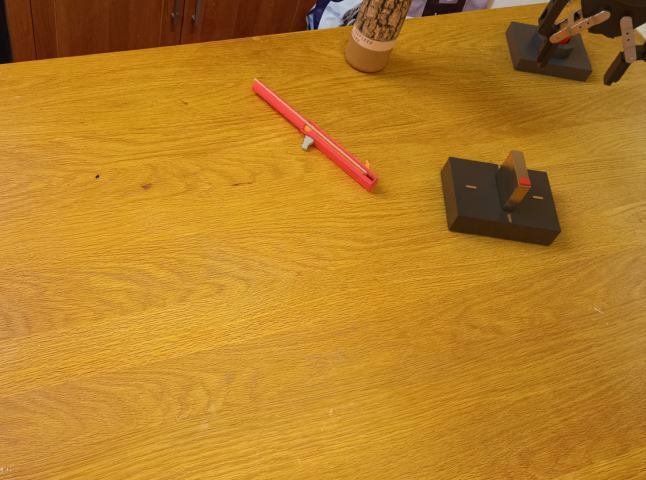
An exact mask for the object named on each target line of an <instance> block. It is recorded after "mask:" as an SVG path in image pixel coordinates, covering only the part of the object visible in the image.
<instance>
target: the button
mask: <svg viewBox="0 0 646 480" xmlns="http://www.w3.org/2000/svg"><path fill="white" fill-rule="evenodd" d="M556 22H557V21H555V22H554V23H556ZM570 37H571V35H570V36H568V37H566V38H565V39H563V40H561V41H559V42H558V43H559V44H566V43H567V41H568V40H569V38H570Z"/></svg>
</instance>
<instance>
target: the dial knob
mask: <svg viewBox="0 0 646 480" xmlns="http://www.w3.org/2000/svg"><path fill="white" fill-rule="evenodd" d="M500 165H501V167H500V168H499V170H498V171H497V173H496V180H497V185H498V190H499V196H500V201H501V206H502V209H503V210H509V211H514V210H515V208H516V207H517V206H518V204H519V203H520V202H521V200H522V199H523V197H524V196H525V195H526V193H527V192H528V191H529V189H530V188H531V184H530V179H529V176H528V172H527V169H528V167H527V163H526V159H525V155H524V151H520V150H513V149H511V150H510V152H509V153H508V154H507V156H506V157H505V159H504V161H503V162H502V164H500Z"/></svg>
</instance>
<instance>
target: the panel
mask: <svg viewBox="0 0 646 480" xmlns="http://www.w3.org/2000/svg"><path fill="white" fill-rule="evenodd" d="M501 165H502V164H501V163H492V162H487V161H480V160H475V159H474V160H473V159H468V158H461V157H456V156H448V158H447V160H446V162H445V163H444V165H443V167H442V168H441V171H440V179H441V186H442V192H443V199H444V200H443V201H444V207H445V208H444V209H445V216H446V221H447V222H446V223H447V227H448V228H447V230H448V231H450V232H455V233H463V234H468V235H476V236H482V237H488V238H494V239H501V240H507V241H513V242H514V241H515V242H520V243H527V244H533V245H541V246H546V247H550V246H551V245H552V244H553V242H554V241H555V240H556V239H557V238H558V236H559V235H560V234H561V233H562V228H561V223H560V219H559V215H558V211H557V208H556V203H555V199H554V195H553V191H552V187H551V183H550V180H549V176H548V172H547V171H543V170H537V169H536V170H535V169H530V168H527V172H528V176H529V179H530V184H531V188H530V189H529V191H528V192H527V193H526V195H525V196H524V197H523V199H522V200H521V202H520V203H519V204H518V206H517V207H516V208H515V210H514V211H509V210H503V209H502V206H501V201H500V196H499V190H498V185H497V180H496V173H497V171H498V170H499V168H500V167H501Z"/></svg>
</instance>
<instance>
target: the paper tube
mask: <svg viewBox="0 0 646 480" xmlns="http://www.w3.org/2000/svg"><path fill="white" fill-rule="evenodd" d="M413 2H414V0H362V1H361V4H360V7H359V10H358V12H357V15H356V18H355V21H354V24H353V27H352V30H351V32H350V36H349V39H348V42H347V44H346V46H345V50H344V56H345V61H347V63H348V64H349V65H350V66H351V67H353V68H354V69H356V70H358V71H360V72H364V73H376V72H380V71H381V70H383V69H385V67H386V66H387V64H388V61H389V59H390V57H391V54H392V52H393V50H394V47H395V45H396V43H397V40H398V38H399V36H400V34H401V30H402V29H403V25H404V24H405V20H406V19H407V16H408V14H409V11H410V9H411V6H412V5H413Z"/></svg>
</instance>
